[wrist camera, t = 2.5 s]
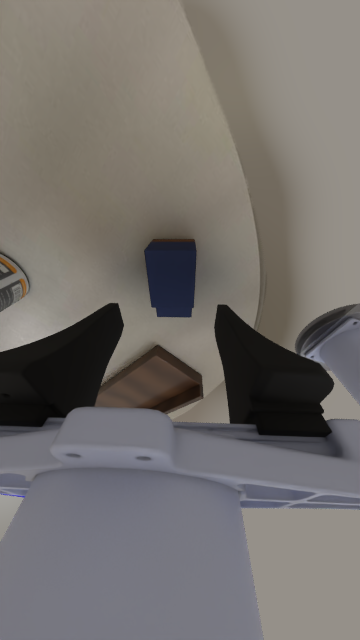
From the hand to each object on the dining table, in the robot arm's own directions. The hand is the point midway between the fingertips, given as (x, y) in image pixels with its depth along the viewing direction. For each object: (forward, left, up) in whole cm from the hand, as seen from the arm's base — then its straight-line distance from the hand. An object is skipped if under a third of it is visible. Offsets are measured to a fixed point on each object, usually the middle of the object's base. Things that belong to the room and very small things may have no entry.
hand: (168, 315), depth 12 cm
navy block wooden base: (0, 0, -7) cm, 7 cm away
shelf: (+2, +29, -7) cm, 30 cm away
